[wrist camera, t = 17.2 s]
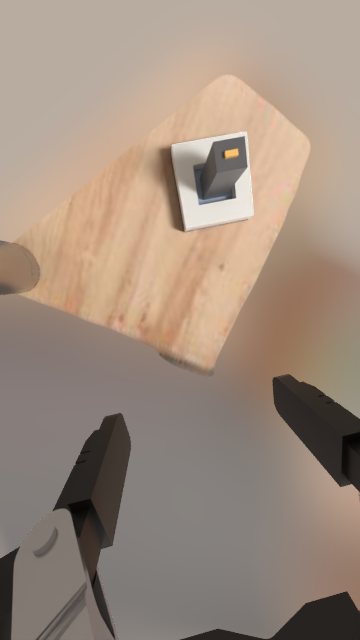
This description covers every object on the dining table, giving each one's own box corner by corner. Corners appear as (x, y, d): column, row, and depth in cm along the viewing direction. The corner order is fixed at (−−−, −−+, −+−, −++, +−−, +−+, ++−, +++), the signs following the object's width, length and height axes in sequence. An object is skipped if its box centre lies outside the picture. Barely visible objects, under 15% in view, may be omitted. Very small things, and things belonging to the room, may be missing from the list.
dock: (184, 232, 35) (186, 228, 33) (170, 154, 32) (171, 144, 29) (247, 219, 36) (253, 215, 33) (240, 142, 32) (246, 131, 30)
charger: (203, 200, 33) (217, 171, 24) (199, 178, 32) (213, 139, 23) (225, 195, 33) (248, 165, 24) (222, 173, 33) (246, 133, 23)
